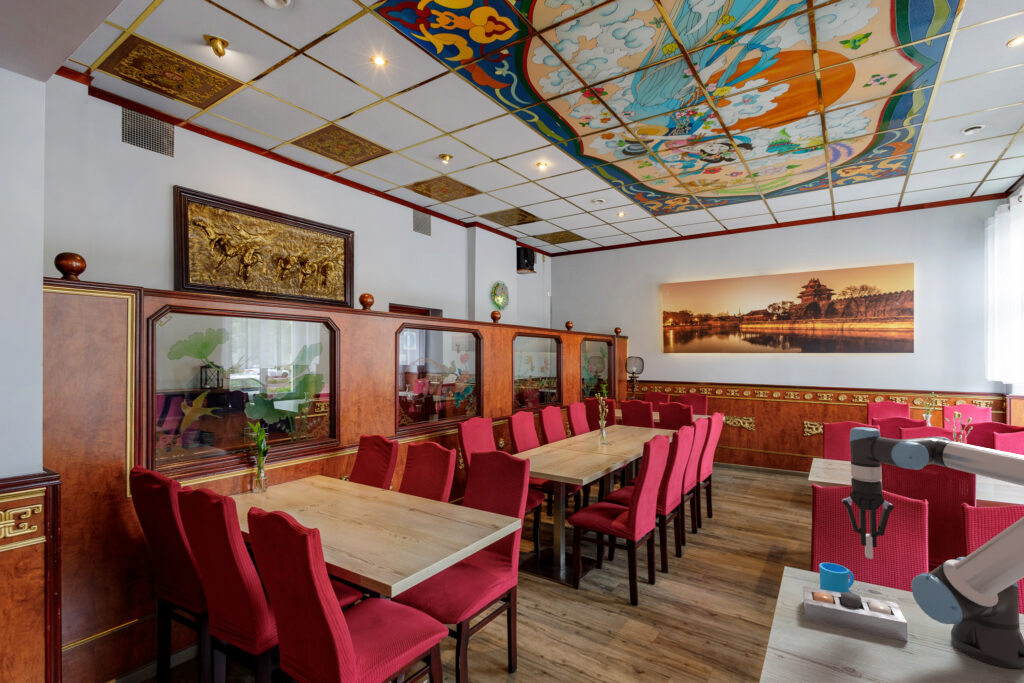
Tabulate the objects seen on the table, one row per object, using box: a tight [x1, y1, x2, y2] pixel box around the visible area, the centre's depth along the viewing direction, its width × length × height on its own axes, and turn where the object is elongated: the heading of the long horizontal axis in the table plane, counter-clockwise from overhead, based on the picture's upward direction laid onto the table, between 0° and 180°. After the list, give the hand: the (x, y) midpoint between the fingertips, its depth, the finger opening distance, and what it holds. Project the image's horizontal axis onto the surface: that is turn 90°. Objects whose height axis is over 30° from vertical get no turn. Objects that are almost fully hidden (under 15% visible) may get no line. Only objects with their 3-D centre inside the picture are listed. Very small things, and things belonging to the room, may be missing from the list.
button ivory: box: [869, 602, 891, 615], centre depth 140 cm, size 5×5×4 cm
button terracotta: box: [814, 592, 833, 604], centre depth 147 cm, size 5×5×4 cm
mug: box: [818, 562, 855, 593], centre depth 161 cm, size 12×8×8 cm
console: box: [802, 585, 909, 642], centre depth 143 cm, size 24×12×5 cm, turn 62°
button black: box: [841, 591, 862, 609], centre depth 144 cm, size 5×5×4 cm
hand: (869, 556), depth 146 cm, fingers closed
